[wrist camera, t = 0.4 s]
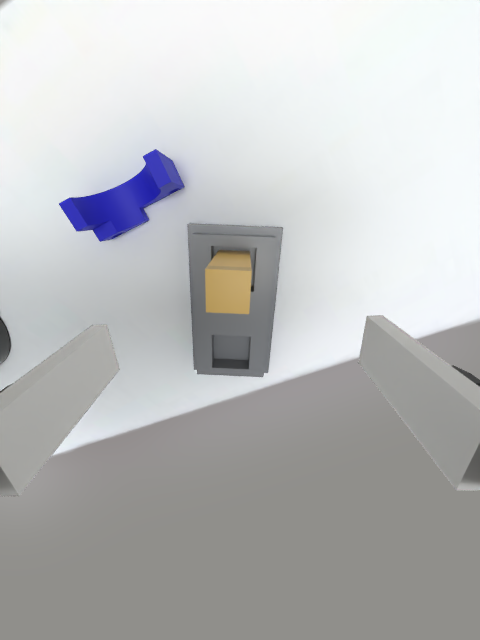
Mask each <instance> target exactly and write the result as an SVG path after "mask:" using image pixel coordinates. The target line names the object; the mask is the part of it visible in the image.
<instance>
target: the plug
mask: <svg viewBox="0 0 480 640" xmlns="http://www.w3.org/2000/svg"><path fill="white" fill-rule="evenodd" d="M251 275H252V269H251V259H250V251H236V250H219V251H218V252H217V253H216V255H215V256H214V258H213V259H212V260H211V262H210V263H209V264H208V266H207V267H206V268H205V289H206V312H211V313H234V314H249V310H250V292H251Z"/></svg>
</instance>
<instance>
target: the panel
mask: <svg viewBox="0 0 480 640" xmlns="http://www.w3.org/2000/svg"><path fill="white" fill-rule="evenodd" d="M282 231H283V228H282V227H259V226H235V225H211V224H188V245H189V268H190V290H191V313H192V335H193V357H194V370H197V374H208V375H230V376H252V377H263V375H264V373H268V368H269V359H270V349H271V339H272V329H273V319H274V310H275V300H276V290H277V280H278V270H279V261H280V251H281V241H282ZM219 250H236V251H250V259H251V269H252V275H251V292H250V310H249V314H234V313H211V312H206V289H205V268H206V267H207V266H208V264H209V263H210V262H211V260H212V259H213V258H214V256H215V255H216V253H217V252H218V251H219Z"/></svg>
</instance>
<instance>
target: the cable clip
mask: <svg viewBox="0 0 480 640" xmlns="http://www.w3.org/2000/svg"><path fill="white" fill-rule="evenodd" d="M143 158H144V160H145V162H146V165H145V167H144V168H143V170H142V171H141V172H140V173H139V174H137V175H136V176H135V177H133V178H132V179H130V180H129V181H127V182H125V183H123V184H121V185H119V186H117V187H115V188H113V189H110V190H108V191H105V192H102V193H99V194H95V195H91V196H86V197H78V198H68V199H66V200H65V201H63V202H61V203H59V205H60V207H61V208H62V210H63V211H64V213H65V214H66V216H67V217H68V219H69V220H70V222H71V223H72V225H73V226H74V228H75V229H76V231H86V230H93V231H94V233H95V234H96V236H97V238H98V239H99V241H105V240H110V239H113V238H115V237H117V236H119V235H121V234H123V233H125V232H127V231H129V230H131V229H133V228H135V227H137V226H139V225H141V224H143V223H145V222H146V221H148V220H149V218H148V216H147V215H146V213H145V211H144V209H143V208H145V207H147V206H149V205H151V204H153V203H154V202H156V201H158V200H160V199H162V198H164V197H166V196H168V195H170V194H172V193H174V192H176V191H178V190H180V189H182V188H183V187H184V185H183V183H182V181H181V178H180V176H179V174H178V172H177V170H176V168H175V165H174V163H173V161H172V160H171V159H169V158H168V157H166V156H165V155H163V154H162V153H161V152H159V151H158V150H156V149H155V150H154V151H152V152H150V153H148V154H146V155H145V156H143Z"/></svg>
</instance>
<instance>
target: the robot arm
mask: <svg viewBox="0 0 480 640" xmlns="http://www.w3.org/2000/svg"><path fill="white" fill-rule="evenodd" d="M9 350H10V340H9V336H8V333H7V330H6V328H5V326H4V324H3V322H2V321H1V319H0V364H1V363H2V362H3V361H4V360H5V359H6V358H7V356H8V353H9ZM359 364H360V366H361V367H362V368H363V370H364V371H365V372H366V373H367V375H368V376H369V377H370V379H371V380H372V381H373V383H374V384H375V385H376V386H377V388H378V389H379V390H380V392H381V393H382V394H383V396H384V397H385V398H386V399H387V401H388V402H389V403H390V405H391V406H392V407H393V409H394V410H395V411H396V413H397V414H398V415H399V416H400V418H401V419H402V420H403V422H404V423H405V424H406V425H407V427H408V428H409V429H410V431H411V432H412V433H413V435H414V436H415V437H416V439H417V440H418V441H419V442H420V444H421V445H422V446H423V448H424V449H425V450H426V452H427V453H428V454H429V456H430V457H431V458H432V459H433V461H434V462H435V463H436V465H437V466H438V467H439V469H440V470H441V471H442V473H443V474H444V475H445V476H446V478H447V479H448V480H449V482H450V483H451V484H452V486H453V487H454V488H455V489H456V490H480V380H479V379H478V378H476V377H475V376H473V375H472V374H470V373H468V372H466V371H464V370H462V369H460V368H458V367H455V366H451V365H449V364H448V363H446V362H445V361H444V360H442V359H441V358H440V357H438V356H437V355H436V354H434V353H433V352H431V351H430V350H429V349H427V348H426V347H425V346H423V345H422V344H421V343H419V342H418V341H417V340H415V339H414V338H413V337H411V336H410V335H408V334H407V333H406V332H404V331H403V330H402V329H400V328H399V327H398V326H396V325H395V324H394V323H392V322H391V321H389V320H388V319H387V318H385V317H384V316H383V315H379V316H367V318H366V323H365V329H364V334H363V340H362V346H361V351H360V357H359ZM119 370H120V369H119V366H118V362H117V359H116V355H115V352H114V348H113V345H112V341H111V338H110V334H109V331H108V327H107V325H91V326H90V327H89V328H87V329H86V330H85V331H83V332H82V333H81V334H79V335H78V336H77V337H75V338H74V339H73V340H71V341H70V342H68V343H67V344H66V345H64V346H63V347H62V348H60V349H59V350H58V351H56V352H55V353H54V354H52V355H51V356H50V357H48V358H47V359H46V360H44V361H43V362H41V363H40V364H39V365H37V366H36V367H35V368H33V369H32V370H31V371H29V372H28V373H27V374H25V375H24V376H23V377H21V378H20V379H19V380H17V381H16V382H14V383H13V384H11V385H9V386H7V387H6V388H4V389H3V390H2V391H0V496H20V495H21V494H22V492H23V491H24V490H25V488H26V487H27V486H28V485H29V484H30V482H31V481H32V480H33V478H34V477H35V476H36V474H37V473H38V472H39V471H40V470H41V468H42V467H43V466H44V465H45V463H46V462H47V461H48V459H49V458H50V457H51V456H52V454H53V453H54V452H55V451H56V449H57V448H58V447H59V446H60V444H61V443H62V442H63V441H64V439H65V438H66V437H67V435H68V434H69V433H70V432H71V430H72V429H73V428H74V427H75V425H76V424H77V423H78V422H79V420H80V419H81V418H82V416H83V415H84V414H85V413H86V411H87V410H88V409H89V408H90V406H91V405H92V404H93V403H94V401H95V400H96V399H97V398H98V396H99V395H100V394H101V392H102V391H103V390H104V389H105V387H106V386H107V385H108V384H109V382H110V381H111V380H112V379H113V377H114V376H115V375H116V373H117V372H118V371H119Z"/></svg>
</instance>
